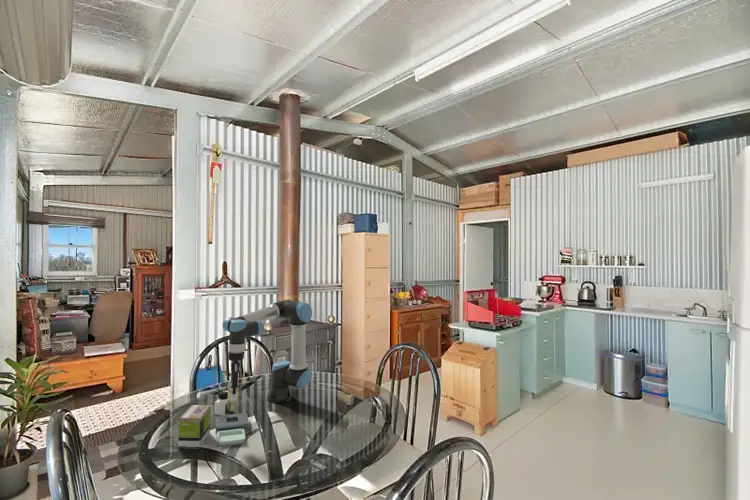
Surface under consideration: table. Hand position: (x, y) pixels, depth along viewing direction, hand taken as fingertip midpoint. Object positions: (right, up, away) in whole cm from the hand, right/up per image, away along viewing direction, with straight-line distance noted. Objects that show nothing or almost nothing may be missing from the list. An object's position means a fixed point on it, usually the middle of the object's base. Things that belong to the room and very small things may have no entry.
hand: (233, 397), depth 188 cm
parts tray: (-1, -21, 0) cm, 21 cm away
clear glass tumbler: (0, -5, 0) cm, 5 cm away
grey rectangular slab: (-6, -21, +13) cm, 25 cm away
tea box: (-18, -20, -3) cm, 27 cm away
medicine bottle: (-17, -20, +29) cm, 39 cm away
